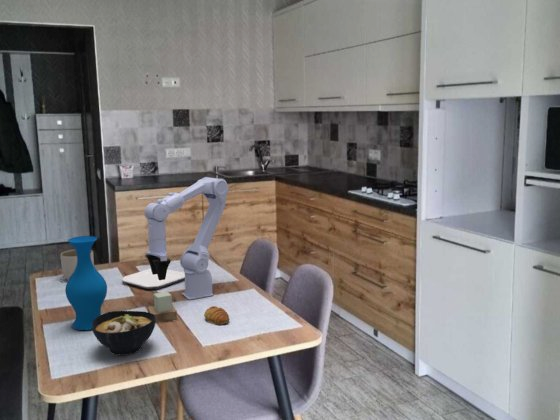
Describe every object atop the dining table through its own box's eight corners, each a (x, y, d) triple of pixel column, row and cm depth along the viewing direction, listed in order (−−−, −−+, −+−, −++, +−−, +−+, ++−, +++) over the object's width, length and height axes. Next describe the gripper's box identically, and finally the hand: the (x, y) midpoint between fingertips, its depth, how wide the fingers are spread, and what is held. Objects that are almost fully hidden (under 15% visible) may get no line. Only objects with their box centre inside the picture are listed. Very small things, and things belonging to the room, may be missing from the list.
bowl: (120, 333, 165) (118, 302, 163) (168, 341, 159) (167, 309, 157) (80, 356, 150) (77, 322, 148) (131, 367, 143) (129, 331, 141)
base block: (172, 313, 182) (171, 303, 182) (177, 321, 175) (176, 311, 175) (148, 316, 180) (147, 306, 179) (151, 325, 172) (151, 314, 172)
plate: (157, 271, 231) (156, 266, 231) (191, 279, 219) (191, 274, 219) (117, 283, 215) (116, 278, 214) (152, 293, 203) (152, 287, 202)
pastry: (235, 322, 173) (234, 311, 172) (216, 328, 169) (216, 316, 168) (219, 314, 180) (219, 303, 180) (201, 319, 176) (201, 308, 176)
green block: (167, 305, 180) (166, 291, 179) (172, 310, 176) (171, 295, 175) (154, 308, 177) (153, 293, 176) (158, 312, 173) (157, 297, 173)
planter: (72, 273, 228) (70, 248, 226) (100, 274, 226) (98, 249, 224) (56, 282, 216) (54, 256, 214) (85, 283, 214) (83, 257, 212)
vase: (89, 315, 180) (83, 233, 175) (117, 322, 174) (112, 237, 170) (59, 328, 170) (52, 241, 165) (88, 335, 164) (82, 245, 159)
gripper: (140, 235, 189) (141, 273, 191) (151, 243, 176) (153, 283, 179) (159, 233, 192) (161, 270, 195) (172, 241, 180) (173, 280, 182)
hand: (158, 276), depth 187 cm, fingers open, 7 cm apart
